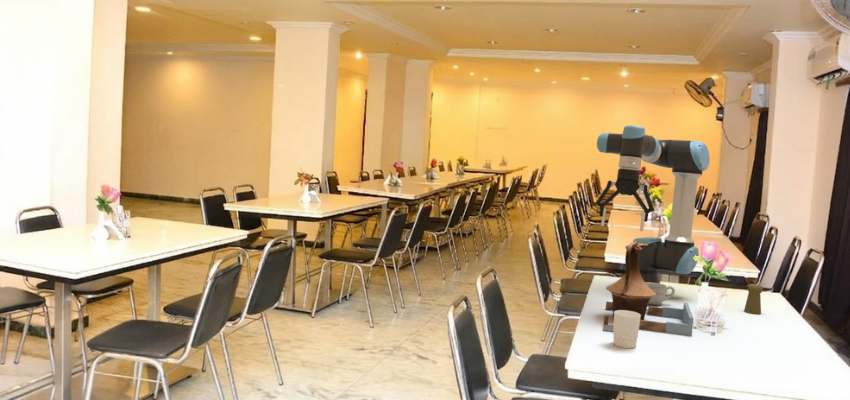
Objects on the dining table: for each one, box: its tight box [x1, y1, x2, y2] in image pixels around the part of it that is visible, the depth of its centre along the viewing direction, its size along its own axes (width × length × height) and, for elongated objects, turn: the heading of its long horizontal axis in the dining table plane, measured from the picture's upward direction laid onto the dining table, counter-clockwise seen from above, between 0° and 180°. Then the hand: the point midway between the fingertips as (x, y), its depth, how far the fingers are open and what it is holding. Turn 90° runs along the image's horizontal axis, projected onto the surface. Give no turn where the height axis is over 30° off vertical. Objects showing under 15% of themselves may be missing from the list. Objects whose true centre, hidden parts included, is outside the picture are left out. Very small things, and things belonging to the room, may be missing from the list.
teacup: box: [645, 282, 676, 306], centre depth 278 cm, size 14×11×8 cm
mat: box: [602, 323, 614, 333], centre depth 235 cm, size 10×8×1 cm
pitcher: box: [605, 241, 656, 320], centre depth 249 cm, size 18×17×28 cm
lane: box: [603, 300, 666, 334], centre depth 249 cm, size 20×24×3 cm
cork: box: [743, 283, 763, 315], centre depth 274 cm, size 6×6×11 cm
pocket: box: [661, 301, 694, 337], centre depth 246 cm, size 8×24×6 cm, turn 164°
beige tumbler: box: [612, 310, 641, 349], centre depth 217 cm, size 8×8×10 cm
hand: (621, 228), depth 253 cm, fingers open, 13 cm apart
